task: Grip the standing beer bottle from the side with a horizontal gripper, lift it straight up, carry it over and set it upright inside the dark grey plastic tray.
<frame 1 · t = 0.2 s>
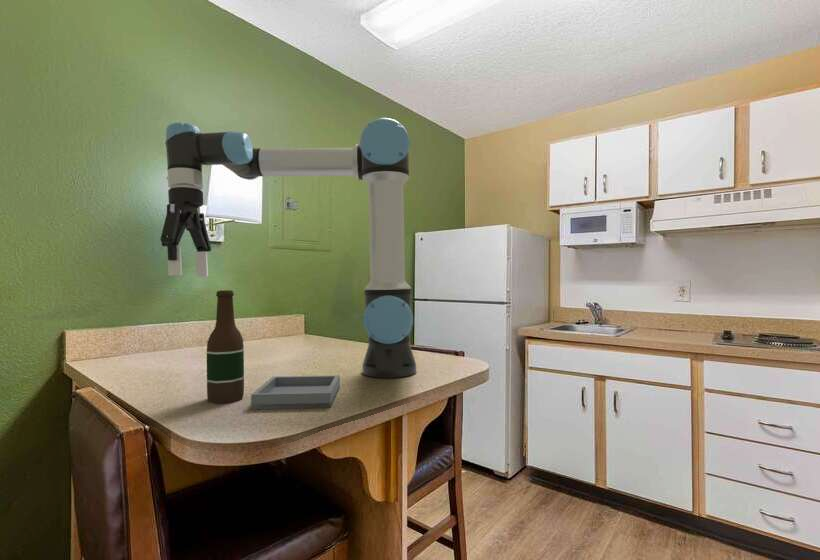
hand: (189, 276, 103), 27 cm above the table, tool pointing down, fingers open, 13 cm apart
beer bottle: (226, 400, 93), on the table
tray: (299, 397, 94), on the table
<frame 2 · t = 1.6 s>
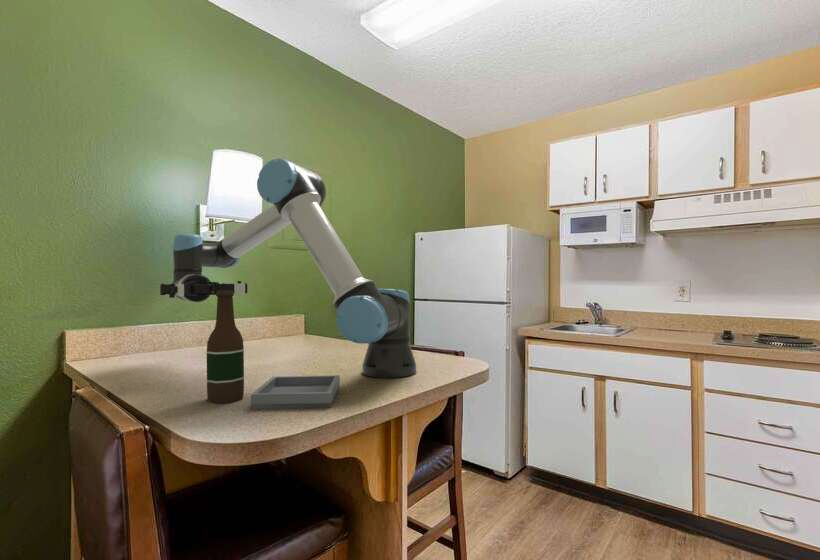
hand: (214, 289, 101), 24 cm above the table, tool horizontal, fingers open, 13 cm apart
nothing on the table moved.
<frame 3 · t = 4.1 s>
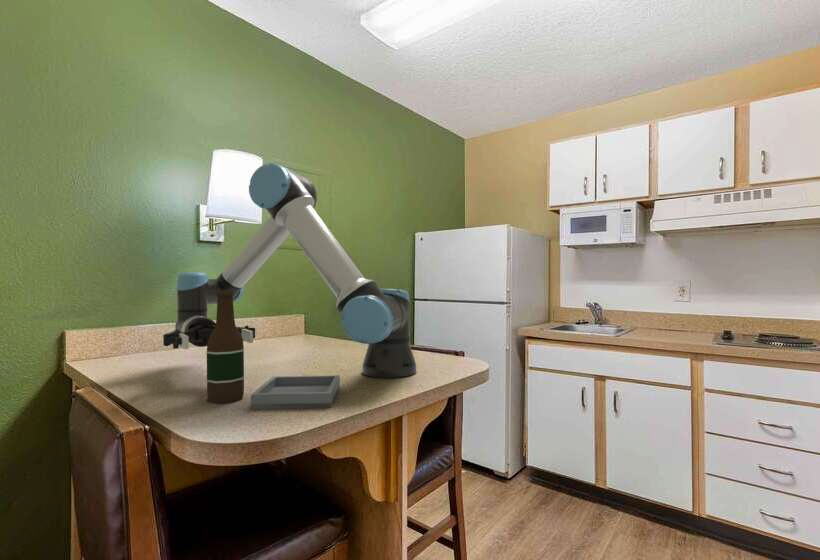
hand: (220, 339, 95), 13 cm above the table, tool horizontal, fingers open, 13 cm apart
nothing on the table moved.
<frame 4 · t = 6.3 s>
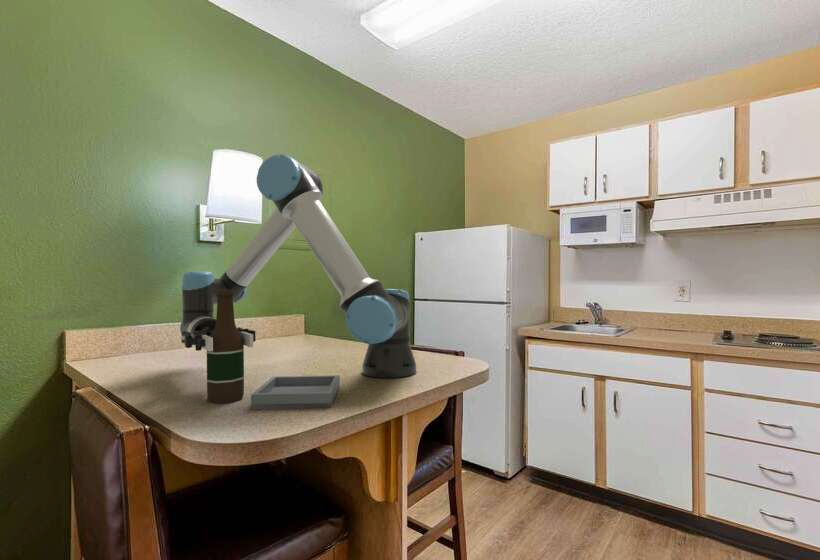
hand: (231, 342, 90), 13 cm above the table, tool horizontal, fingers closed on beer bottle, 7 cm apart
beer bottle: (226, 400, 93), on the table, touching gripper
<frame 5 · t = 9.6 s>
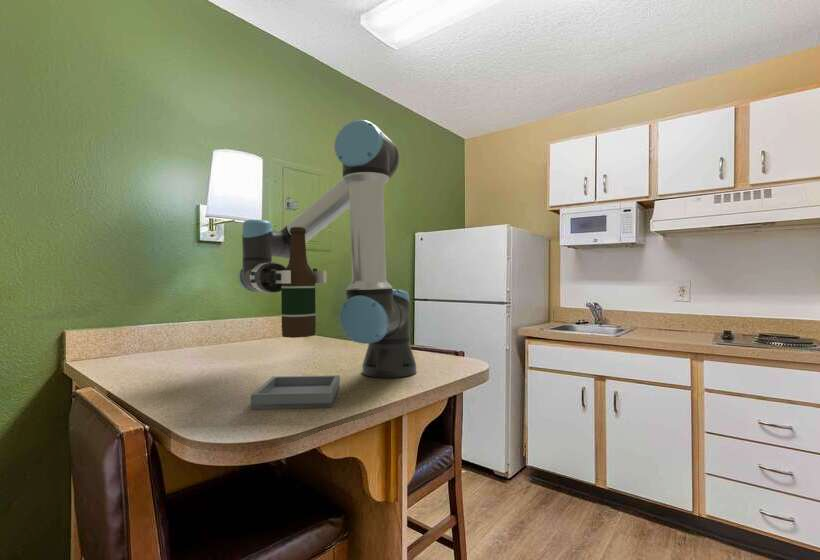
hand: (307, 276, 90), 27 cm above the table, tool horizontal, fingers closed on beer bottle, 7 cm apart
beer bottle: (298, 336, 94), point 14 cm above the table, touching gripper
when the fingers open (15 cm above the table, at t = 13.0 s): beer bottle drops 1 cm, resting on tray.
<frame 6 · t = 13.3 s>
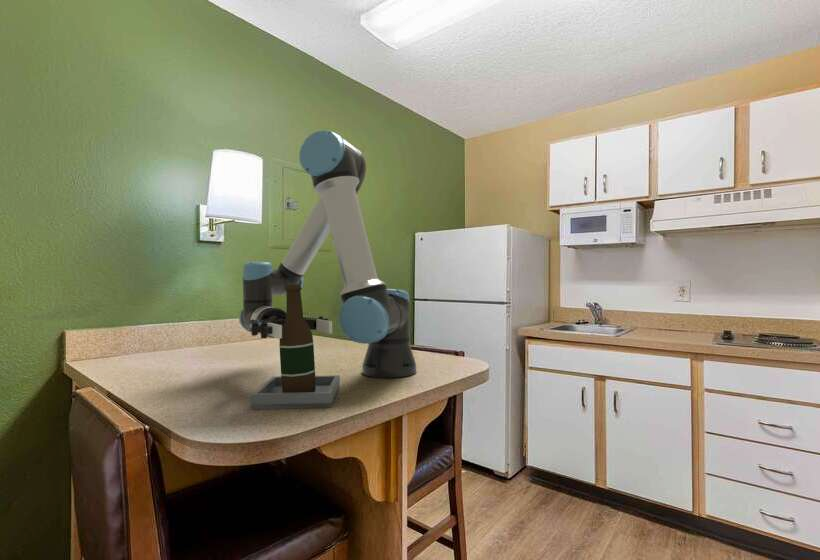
hand: (306, 329, 91), 15 cm above the table, tool horizontal, fingers open, 11 cm apart
beer bottle: (299, 393, 94), point 1 cm above the table, touching tray
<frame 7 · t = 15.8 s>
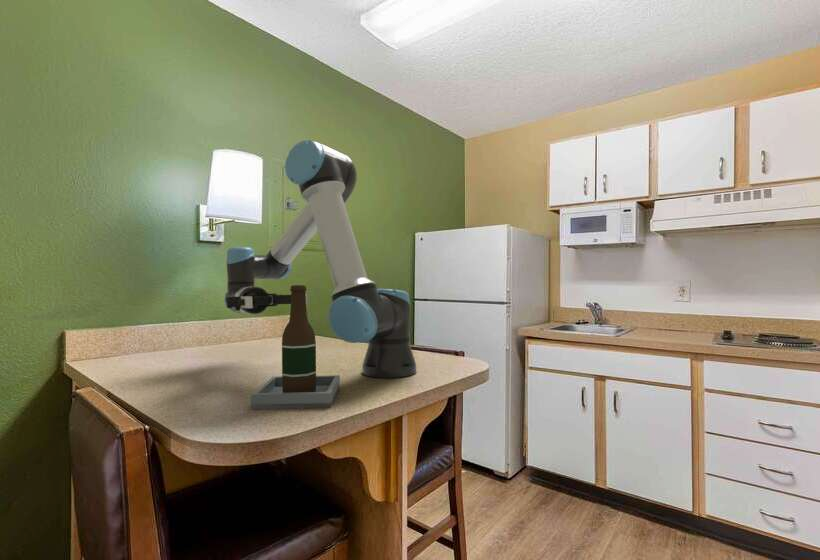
hand: (279, 300, 102), 21 cm above the table, tool horizontal, fingers open, 13 cm apart
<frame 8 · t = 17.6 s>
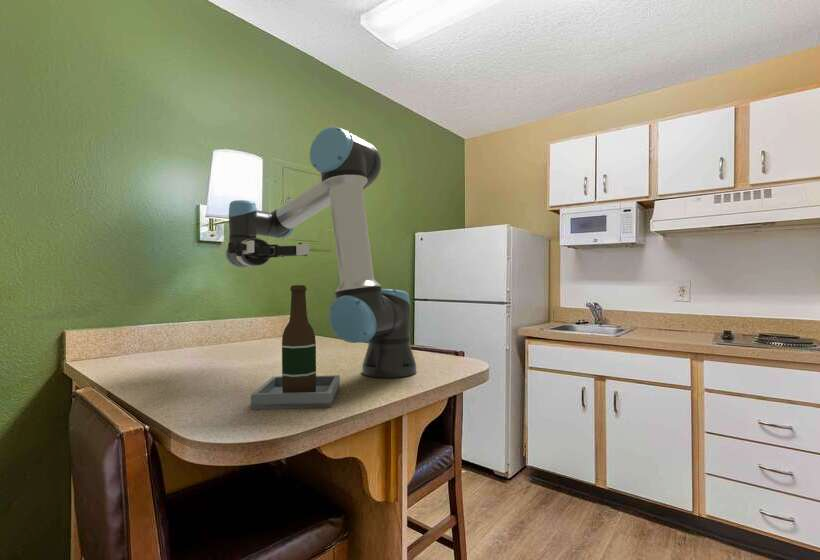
hand: (281, 247, 102), 34 cm above the table, tool horizontal, fingers open, 13 cm apart
nothing on the table moved.
at the end: beer bottle inside the target area on the tray (0.1 cm from its centre), point 0.8 cm above the tray's base; beer bottle tilted 0°; the gripper is holding nothing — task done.
